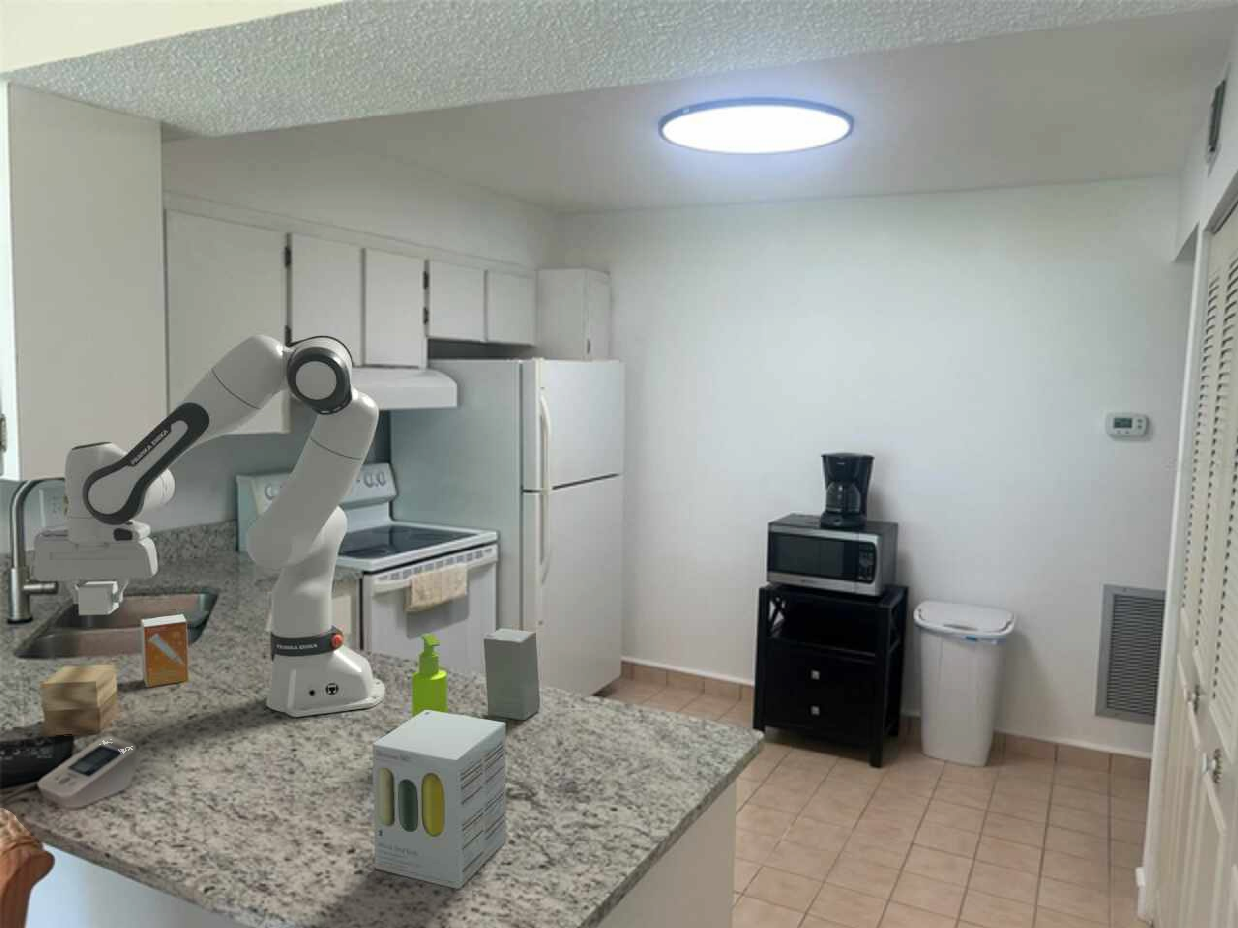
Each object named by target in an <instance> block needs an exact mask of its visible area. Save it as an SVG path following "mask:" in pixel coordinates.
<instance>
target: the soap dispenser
mask: <svg viewBox="0 0 1238 928" xmlns="http://www.w3.org/2000/svg"><path fill="white" fill-rule="evenodd" d="M420 638H421V640H423V651H422V652H421V653H419V655H418V670H416V671H415V672H413V673H412V674H411V698H412V699H411V704H412V706H411V708H412V709H411V710H412V718H413V717H415V716H416V715H418V714H420V713H421V712H423V711H424V710H431V711H437V712H443V713H448V691H447V690H448V685H447V684H448V683H447V675H448V674H447V672H446V670H443V669H440V655H439V652H437V651H435V647H437V646H441V642H440V640H439V639H438V637H437V636H436V635H435V634H433V633H426V634H421V635H420Z"/></svg>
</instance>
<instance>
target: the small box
mask: <svg viewBox="0 0 1238 928" xmlns="http://www.w3.org/2000/svg"><path fill="white" fill-rule="evenodd" d="M187 624H188V623H187V620H186V618H185V616H184V614H182V613H180V614H176V615H175V614H174V615H173V614H172V615H166V616H158V617H157V616H156V617H153V618H144V619H143V618H142V619H140V636H141V639H140V641H141V657H142V658H141V660H142V677H143V678H142V679H143V680H144V681H143V682H144V684H145V687H146V688H152V687H157V686H162V685H170V684H171V685H172V684H176V683H177V684H178V683H183V682H189V681H190V677H189V676H190V674H189V649H188V648H189V647H188V625H187Z"/></svg>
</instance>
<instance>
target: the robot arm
mask: <svg viewBox="0 0 1238 928" xmlns="http://www.w3.org/2000/svg"><path fill="white" fill-rule="evenodd" d="M353 362H354V359H353V357H352V353H351V352H350V350H349V348H348V347H347V346H346V344H345V343H344V342H342V341H341V340H340V339H337V338H335V337H333V336H331V335H330V336H329V335H316V336H315V335H314V336H310V337H307V338H305V339H300V340H297V341H293V342H290V343H289V344H288V346H285V345H284V344H282V343H281V342H280V341H278V340H277V339H275V338H273V337H272V336H268V335H266V334H260V333H259V334H254V335H250V336H249V337H248V338H246V339H244V340H243V341H242V342H240V343H238V344H237V345H236V346H234V347H233V348H231V350H229V351H228V352H227V353H225V355H224V356H223V357H221V358H220V359H219V360H218V361H217V362H216V363H215V364H214V365H213V366H212V367H211V368H210V369H209V370H208V371H207V373H205V374H204V375H203V377H202V378H201V379H200V380H199V381H198V383H197V384H195V386H194V387H193V388H192V389H191V391H189V393H187V395H186V396H185V397H184V399H183V400H182V401H181V402H179V403H178V405H177V406H176V407H175V408H174V409H173V410H172V411H171V412H170V414H168V415H167V417H165V418H164V419H163V420H162V421H161V422H160V423H159V424H158V425H157V426H155V428H153V429H152V430H151V431H150V432H149V433H148V434H147V435H146V436H144V438H142V439H141V440H140V441H139V442H138V443H137V444H136V445H135V446H134V447H133V448H132V449H131V450H130V451H128V452H127V451H126V450H123V449H121V448H120V446H118V445H116V444H115V443H114V442H112V441H111V442H110V441H101V442H94V443H88V444H83V445H77V446H75V447H72V448H71V449H70V450H69V451H68V453H67V455H66V458H65V464H64V466H65V467H64V492H65V495H66V497H67V503H68V505H67V506H68V507H67V510H66V514H65V515H66V529H58V530H57V529H56V530H51V529H45V530H42V531H41V532H39V533H37V534H36V535H35V536H34V537H33V548H34V549H33V550H34V551H35V557H34V568H33V575H34V577H35V578H36V579H37V581H40V582H52V581H53V582H54V581H60V582H61V581H62V582H63V581H65V587H66V589H67V590H68V591H69V593H70V594H71V595H72V599H73V604H75V605H76V604H77V605H79V604H78V588H79V587H78V586H77V584H79V582H80V581H114V580H115V581H117V585H118V590H117V592H113V593H112V594H111V598H112V599H111V602H112V603H119V604H121V603H122V602H123V601H124V594H123V592H124V591H125V589H126V588H127V586H128V584H129V582H130V581H129V580H148V579H150V578H152V577H154V576H155V574H156V573H157V572H158V569H159V567H158V566H159V565H158V564H159V563H158V556H157V550H156V549H157V548H156V545H155V543H154V541H153V540H152V539H151V538H150V537H148V536H149V535H150V534H151V526H150V525H149V524H148V523H144V522H139V521H137V520H136V521H135V520H133V519H135V518H137V517H141V516H144V515H146V514H149V513H150V512H153V511H156V510H158V509H161V508H163V507H164V506H166V505H167V504H169V503H170V502H171V501H172V499H173V497H174V496H175V492H176V480H175V477H174V475H173V472H172V471H171V470H170V469H169V468H170V467H172V466H173V464H175V463H176V462H177V461H179V459H180V458H181V457H182V456H183V455H184V454H186V453H188V452H189V451H190V450H191V449H193V448H194V447H195V448H196V446H199V445H201V444H203V443H205V442H207V441H209V440H213V439H216V438H218V437H221V436H224V435H227V434H230V433H232V432H234V431H236V430H238V429H239V428H241V427H242V426H243V425H245V424H246V423H247V422H249V421H250V420H252V419H253V418H254V417H255V416H256V415H257V414H258V413H259V412H260V411H261V410H262V409H263V408H264V407H265V406H266V405H267V404H268V402H269V401H271V400H272V398H273V397H274V396H275V395H277V394H279V393H281V392H282V391H285V390H289V389H290V391H291V392H292V394H293V395H294V396H295V397H296V398H297V399H298V400H299V401H301V402H302V403H303V404H305V405H306V406H308V407H309V408H310V409H311V410H313V411H314V412H315V413H317V417H316V420H315V422H314V424H313V427H312V429H311V431H310V433H309V436H308V438H307V440H306V443H305V445H304V446H303V449H302V451H301V453H300V455H299V458H298V460H297V462H296V465H295V467H294V468H293V470H292V472H291V474H290V475H289V477H288V479H287V480H286V481H285V482H284V485H282V487H281V488H280V490H279V491H278V492H277V494H276V495H275V496H274V498H273V500H272V501H271V502H270V504H269V506H268V507H267V508H266V509H265V511H264V512H263V513H262V514H261V515H260V516H259V517H258V518H257V520H255V521H254V522H253V523H252V524H251V526H249V528H248V530H247V532H246V535H245V548H246V552H247V554H248V555H249V557H250V558H251V560H252V561H253V562H254V563H255V564H256V565H258V566H260V567H261V568H265V569H273V570H274V569H280V573H279V576H278V579H277V580H276V583H275V585H274V586H273V588H272V591H271V595H270V596H271V597H270V599H271V602H270V603H271V604H270V605H271V625H272V626H271V628H272V630H271V632H270V635H269V656H270V659H271V663H272V664H271V675H270V682H269V683H270V684H269V688H268V693H267V697H266V700H265V705H266V706H267V708H269V709H272V710H274V711H276V712H277V711H278V712H280V713H284V714H287V715H288V716H290V717H293V718H299V717H300V718H301V717H307V716H313V715H321V714H322V715H323V714H330V713H338V712H345V711H351V710H352V711H353V710H354V711H355V710H360V709H368V708H372V707H375V706H377V705H378V704H380V702H381V701H382V700H383V699H384V697H385V692H386V690H385V685H384V683H383V681H382V680H380V679H379V678H374V674H373V670H372V667H371V664H370V663H369V661H368V659H367V658H365V657H364V656H363V655H360V654H359V653H357V652H355V651H354V650H353V649H351V648H349V647H347V646H346V645H344V644H343V643H344V633H343V628H342V627H339V628H338V627H335V626H334V625H333V624H332V623H333V622H332V586H333V579H334V575H335V569H336V566H337V565H336V564H337V559H338V556H339V551H340V546H341V543H342V541H344V538H345V536H346V535H347V531H348V519H347V516H346V513H345V511H344V510H343V509H342V508H341V507H340V504H341V503H342V501H343V500H345V498H346V497H348V495H349V494H350V493H351V491H352V489H353V486H354V483H355V481H356V480H357V478H358V475H359V473H360V471H361V468H362V467H363V464H364V462H365V460H366V458H367V455H368V453H369V451H370V447H371V446H372V443H373V440H374V437H375V433H376V429H377V425H378V421H379V416H380V410H379V407H378V405H377V403H376V401H374V400H373V399H372V398H371V397H370V396H369V395H367V394H366V393H364V392H362V391H360V390H358V389H356V388H355V386H354V385H353V381H352V380H353V367H354V363H353Z"/></svg>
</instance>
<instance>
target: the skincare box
mask: <svg viewBox="0 0 1238 928" xmlns="http://www.w3.org/2000/svg"><path fill="white" fill-rule="evenodd" d="M537 647H538V646H537V632H536V631H527V630H517V629H510V628H504V627H503V628H502V627H501V628H499V629H497V630H496V631H494V632H492V633H489V634H488V635H486V636H484V638H483V650H484V651H483V652H484V661H485V662H484V663H485V664H484V665H485V682H486V699H487V714H488V716H493V717H499V718H506V719H513V720H518V721H526V720H527V719H529V717H531V716H532V715H534V714H535V713H537V712H539V711H540V708H541V700H540V698H541V697H540V696H541V695H540V685H539V684H540V683H539V682H540V681H539V666H538V665H539V663H538V649H537Z"/></svg>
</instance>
